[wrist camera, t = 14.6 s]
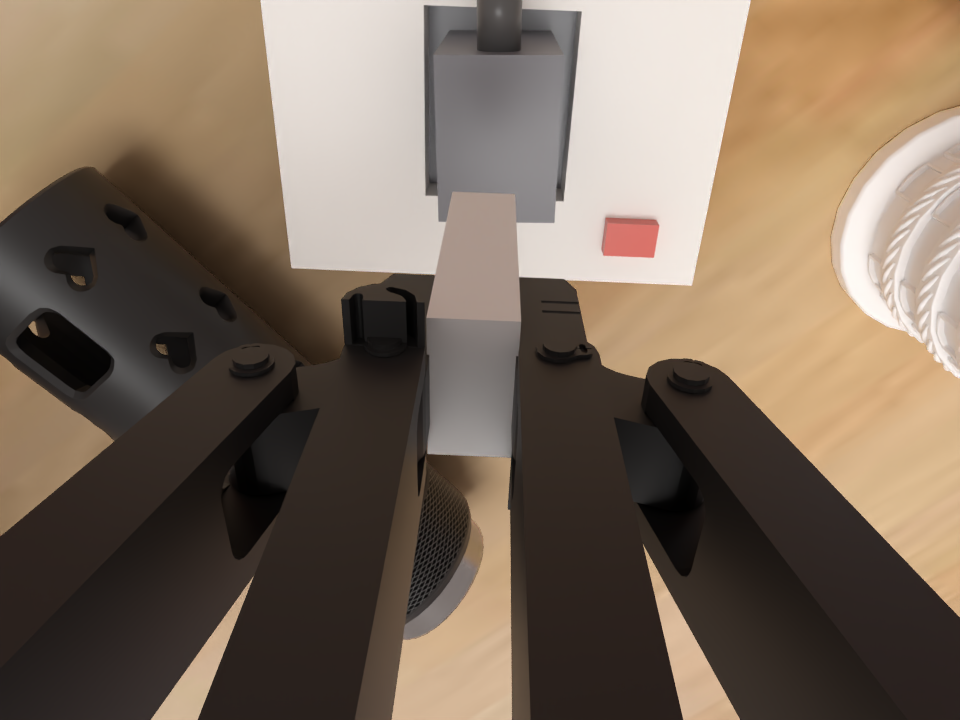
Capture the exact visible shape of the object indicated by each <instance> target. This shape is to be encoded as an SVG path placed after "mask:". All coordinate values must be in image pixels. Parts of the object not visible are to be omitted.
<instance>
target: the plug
mask: <svg viewBox="0 0 960 720" xmlns="http://www.w3.org/2000/svg"><path fill="white" fill-rule="evenodd" d="M433 63H434V94H435V126H436V158H437V189H438V221H439V222H446V220H447V216H448V211H449V206H450V201H451V196H452V192H474V193H500V194H515V203H516V223H554V222H555V204H556V187H557V169H558V152H559V134H560V117H561V99H562V82H563V64H564V54H563V52H562V50H561V48H560V47H559V45H558V43H557V41H556V39H555V37H554V35H553V33H552V31H525V30H522V0H477V30H449V32H448V33H447V35H446V36H445V38H444V39H443V41H442V42H441V44H440V45H439V47H438V48H437V50H436V51H435V53H434V54H433Z"/></svg>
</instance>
